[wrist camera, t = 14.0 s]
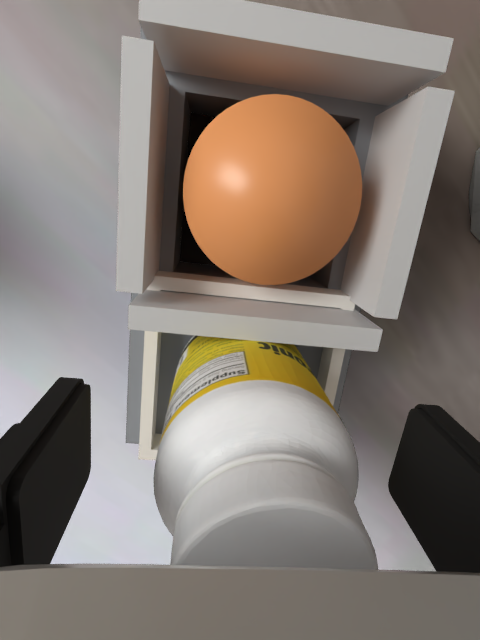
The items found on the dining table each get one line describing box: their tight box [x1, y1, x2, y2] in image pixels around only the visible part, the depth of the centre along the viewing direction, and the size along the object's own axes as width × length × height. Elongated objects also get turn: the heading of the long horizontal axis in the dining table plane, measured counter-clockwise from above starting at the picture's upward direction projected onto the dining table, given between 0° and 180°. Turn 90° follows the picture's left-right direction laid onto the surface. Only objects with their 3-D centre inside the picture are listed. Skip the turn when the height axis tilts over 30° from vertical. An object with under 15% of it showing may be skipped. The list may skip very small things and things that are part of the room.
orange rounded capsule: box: [183, 94, 362, 285], centre depth 14 cm, size 6×6×5 cm
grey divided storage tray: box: [116, 0, 455, 460], centre depth 15 cm, size 17×10×6 cm, turn 173°
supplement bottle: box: [154, 335, 378, 570], centre depth 11 cm, size 5×5×10 cm
